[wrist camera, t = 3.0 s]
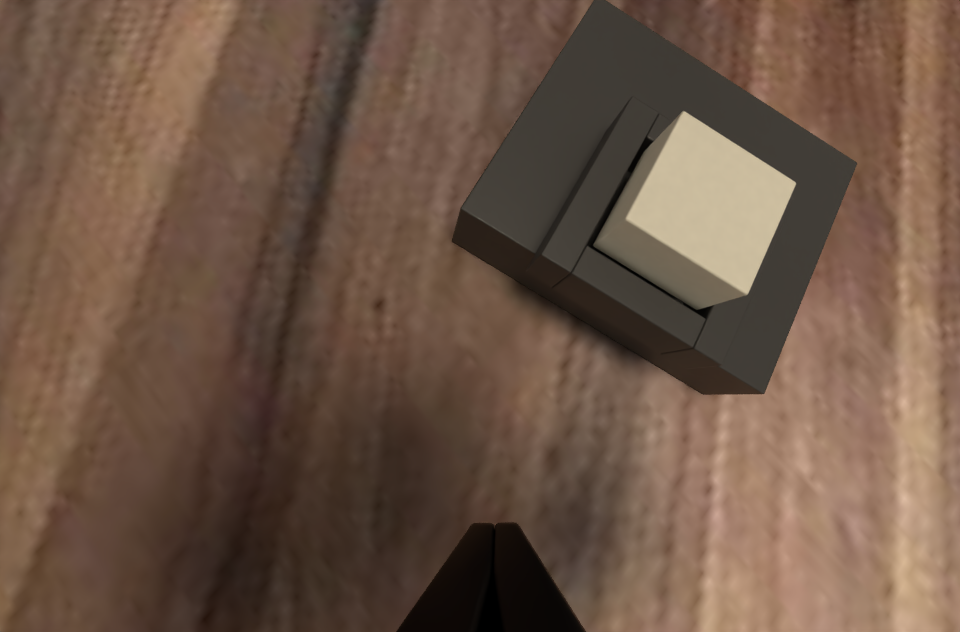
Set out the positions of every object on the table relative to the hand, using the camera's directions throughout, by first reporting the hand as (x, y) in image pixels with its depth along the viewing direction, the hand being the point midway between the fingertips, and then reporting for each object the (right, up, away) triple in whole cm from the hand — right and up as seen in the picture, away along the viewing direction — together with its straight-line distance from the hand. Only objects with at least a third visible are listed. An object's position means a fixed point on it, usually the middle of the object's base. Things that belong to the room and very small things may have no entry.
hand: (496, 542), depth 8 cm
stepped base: (+7, +9, +14) cm, 18 cm away
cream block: (+7, +7, +8) cm, 13 cm away
